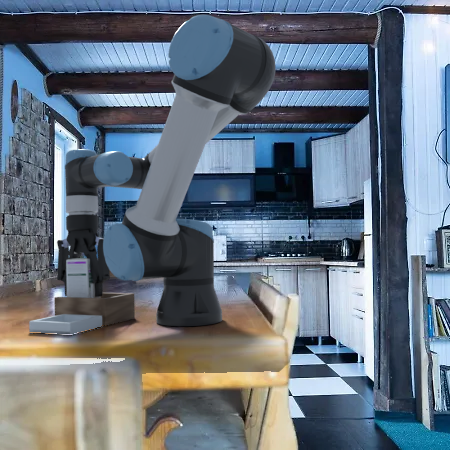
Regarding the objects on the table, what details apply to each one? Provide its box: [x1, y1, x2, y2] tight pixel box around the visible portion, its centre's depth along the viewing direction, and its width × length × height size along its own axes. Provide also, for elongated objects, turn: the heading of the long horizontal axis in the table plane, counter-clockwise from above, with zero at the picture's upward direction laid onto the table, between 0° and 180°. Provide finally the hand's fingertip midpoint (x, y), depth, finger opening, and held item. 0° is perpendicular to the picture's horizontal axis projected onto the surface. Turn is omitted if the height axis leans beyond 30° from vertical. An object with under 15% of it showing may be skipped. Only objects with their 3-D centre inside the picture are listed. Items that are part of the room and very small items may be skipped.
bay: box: [53, 292, 136, 326], centre depth 119 cm, size 14×12×6 cm
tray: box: [28, 314, 103, 334], centre depth 106 cm, size 10×10×2 cm
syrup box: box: [66, 257, 98, 298], centre depth 120 cm, size 6×6×14 cm
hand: (83, 310), depth 120 cm, fingers closed on syrup box, 6 cm apart
